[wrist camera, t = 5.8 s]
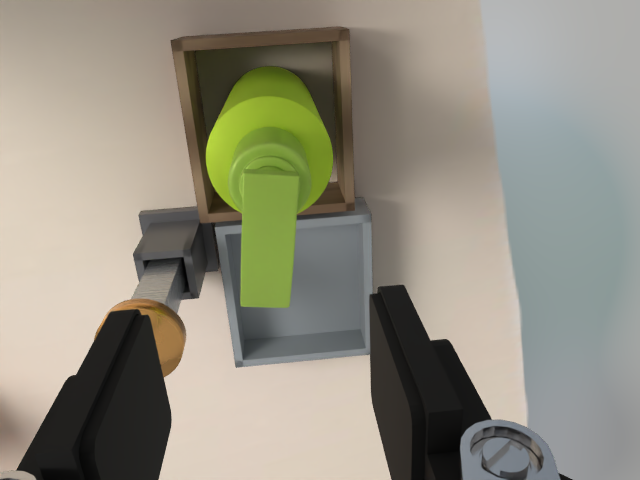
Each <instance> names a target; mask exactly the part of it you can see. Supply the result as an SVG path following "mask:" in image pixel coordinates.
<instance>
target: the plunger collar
mask: <svg viewBox="0 0 640 480" xmlns="http://www.w3.org/2000/svg"><path fill="white" fill-rule="evenodd" d="M139 220H140V225H141V229H142V234H143V237H142V239H141V240H140V242H139V244H138V246H137V248H136V249H135V251H134V253H133V257H134V261H135V266H136V270H137V275H138V279H139V282H140V280H141V278H142V276H143V274H144V272H145V270H146V267H147V265H148V263H149V261H150V260H153V259H165V258H176V257H184V262H185V267H186V273H187V278H188V280H187V283H186V286H185V289H184V293H183V296H182V299H181V300H184V299H195V298H199V296H200V292H201V288H202V284H203V280H204V276H205V272H211V271H218V269H219V262H218V255H217V249H216V242H215V236H214V229H213V222H212V223H200V219H199V213H198V207H185V208H173V209H161V210H148V211H141V212H140V213H139Z"/></svg>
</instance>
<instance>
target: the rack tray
mask: <svg viewBox="0 0 640 480" xmlns="http://www.w3.org/2000/svg"><path fill="white" fill-rule="evenodd" d="M215 232H216V239H217V245H218V252H219V259H220V265H221V272H222V279H223V285H224V292H225V299H226V305H227V312H228V319H229V325H230V332H231V339H232V345H233V352H234V359H235V365H236V368H237V367H247V366H257V365H268V364H278V363H288V362H298V361H308V360H318V359H329V358H339V357H349V356H359V355H369V354H370V316H369V295H370V294H373V288H372V232H371V213H370V211H369V209H368V207H367V204H366V202H365V200H364V198H355V211H344V212H332V213H320V214H308V215H297V221H296V236H295V251H294V264H293V276H292V287H291V298H290V306H289V307H288V308H266V307H242V306H241V304H240V291H241V235H242V220H236V221H224V222H216V225H215Z"/></svg>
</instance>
